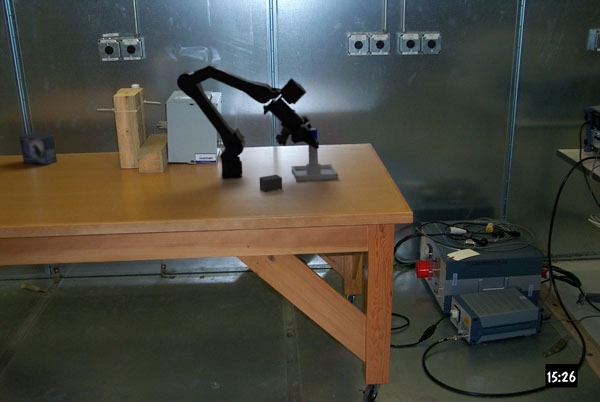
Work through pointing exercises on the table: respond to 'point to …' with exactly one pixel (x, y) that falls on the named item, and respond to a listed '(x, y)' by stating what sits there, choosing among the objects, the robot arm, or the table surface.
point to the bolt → (313, 158)
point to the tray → (326, 174)
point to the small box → (38, 149)
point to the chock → (270, 183)
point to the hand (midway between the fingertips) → (318, 146)
